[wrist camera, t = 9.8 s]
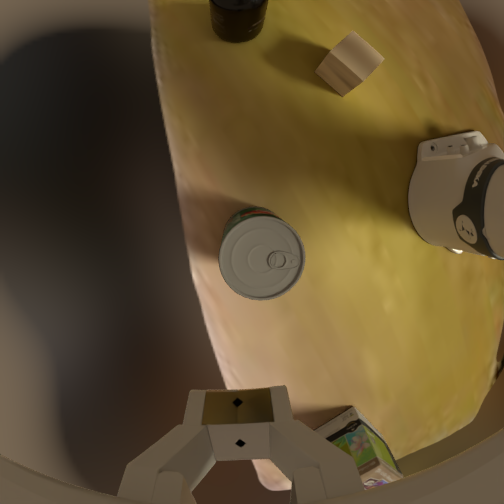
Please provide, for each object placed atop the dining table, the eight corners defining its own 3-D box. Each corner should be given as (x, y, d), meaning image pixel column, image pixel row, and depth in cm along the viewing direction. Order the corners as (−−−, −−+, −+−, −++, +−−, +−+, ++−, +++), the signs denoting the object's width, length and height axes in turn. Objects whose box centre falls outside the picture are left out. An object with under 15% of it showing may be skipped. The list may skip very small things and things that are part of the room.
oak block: (335, 51, 32) (353, 30, 25) (362, 75, 33) (384, 58, 26) (314, 72, 32) (329, 51, 26) (342, 96, 33) (363, 81, 27)
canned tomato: (221, 265, 38) (215, 297, 27) (225, 203, 36) (220, 212, 25) (282, 269, 38) (299, 302, 28) (289, 209, 37) (310, 220, 26)
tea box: (307, 432, 46) (325, 493, 32) (353, 403, 45) (382, 462, 30) (343, 458, 49) (362, 509, 35) (382, 434, 48) (408, 482, 34)
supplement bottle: (264, 44, 31) (275, -5, 20) (212, 45, 31) (204, -4, 19) (261, 7, 30) (271, -45, 18) (212, 8, 29) (206, -43, 18)
